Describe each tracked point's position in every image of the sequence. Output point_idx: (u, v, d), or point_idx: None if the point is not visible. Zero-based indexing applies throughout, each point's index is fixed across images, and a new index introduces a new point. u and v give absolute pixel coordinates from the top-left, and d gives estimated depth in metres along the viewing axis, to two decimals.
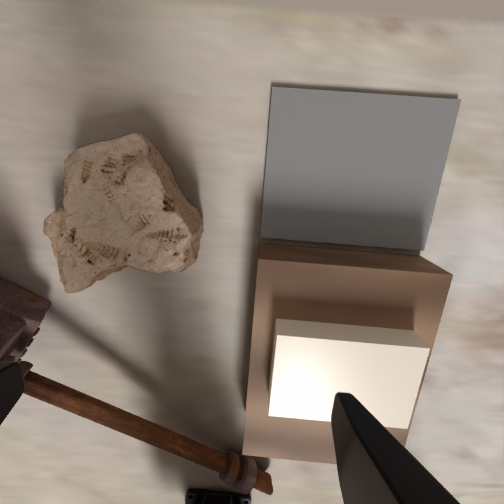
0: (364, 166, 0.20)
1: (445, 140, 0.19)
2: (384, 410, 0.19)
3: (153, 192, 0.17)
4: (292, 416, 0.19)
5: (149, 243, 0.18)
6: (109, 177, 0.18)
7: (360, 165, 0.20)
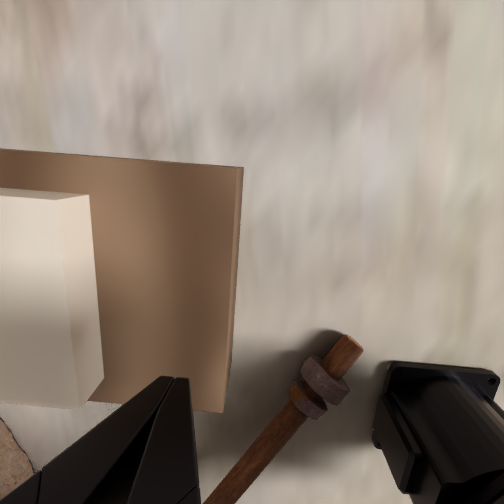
0: None
1: None
2: (26, 245, 0.11)
3: None
4: (73, 379, 0.12)
5: None
6: None
7: None
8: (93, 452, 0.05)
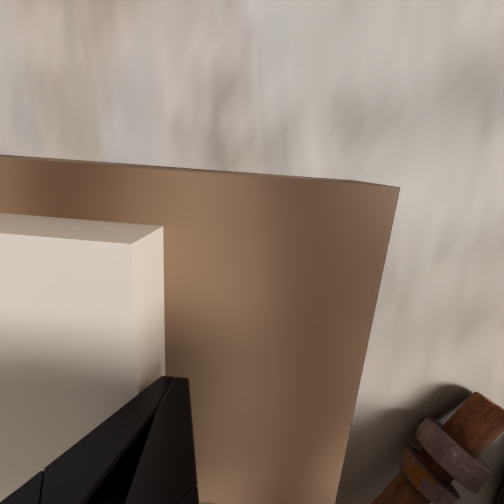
0: None
1: None
2: (80, 311, 0.07)
3: None
4: None
5: None
6: None
7: None
8: (95, 452, 0.05)
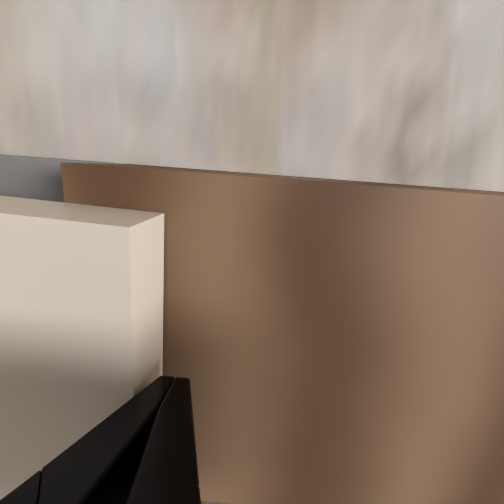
0: None
1: None
2: (76, 295, 0.07)
3: None
4: None
5: None
6: None
7: None
8: (93, 452, 0.05)
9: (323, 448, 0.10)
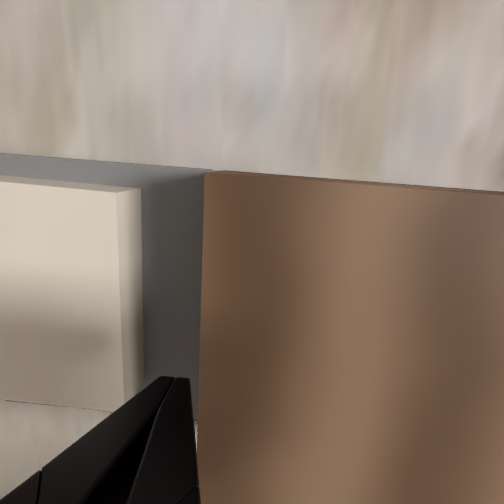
0: None
1: (20, 163, 0.11)
2: None
3: None
4: None
5: None
6: None
7: None
8: (93, 452, 0.05)
9: (439, 462, 0.10)
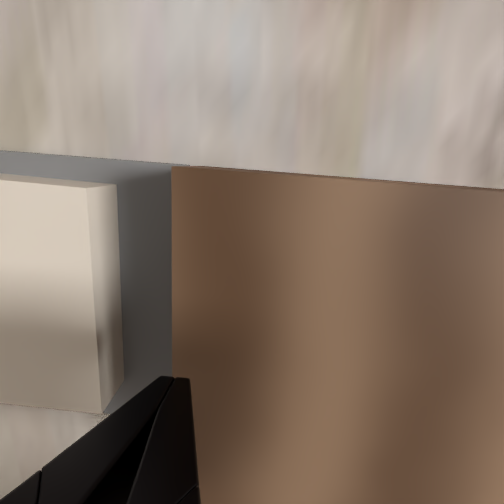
0: None
1: None
2: None
3: None
4: None
5: None
6: None
7: None
8: (93, 452, 0.05)
9: (418, 462, 0.10)
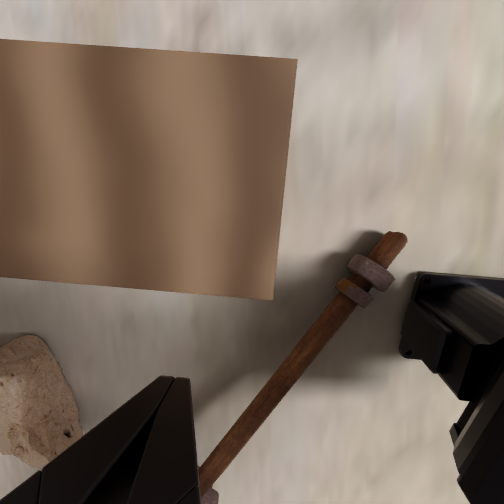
0: None
1: None
2: None
3: None
4: None
5: None
6: None
7: None
8: (93, 452, 0.05)
9: (136, 235, 0.16)
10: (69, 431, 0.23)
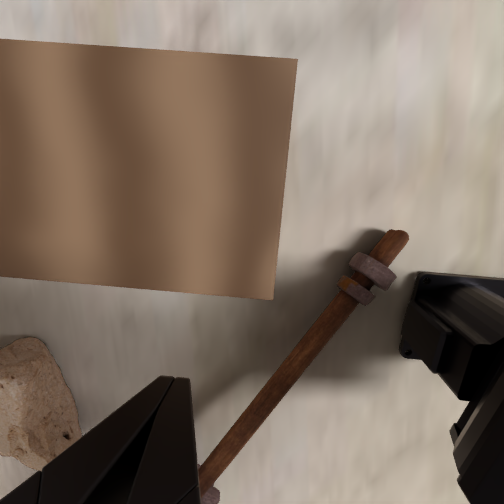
0: None
1: None
2: None
3: None
4: None
5: None
6: None
7: None
8: (93, 452, 0.05)
9: (136, 235, 0.16)
10: (68, 433, 0.23)
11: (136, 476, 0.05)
